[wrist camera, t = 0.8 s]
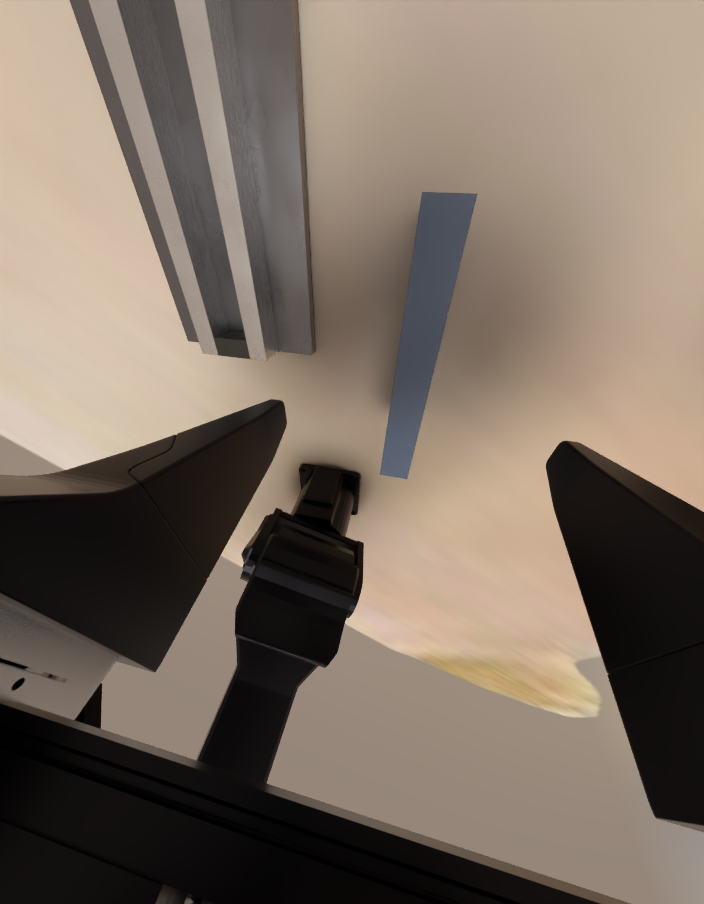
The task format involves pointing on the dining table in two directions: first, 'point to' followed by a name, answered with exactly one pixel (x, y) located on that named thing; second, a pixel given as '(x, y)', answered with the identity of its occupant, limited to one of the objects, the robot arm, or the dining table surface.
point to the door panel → (424, 319)
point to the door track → (215, 159)
